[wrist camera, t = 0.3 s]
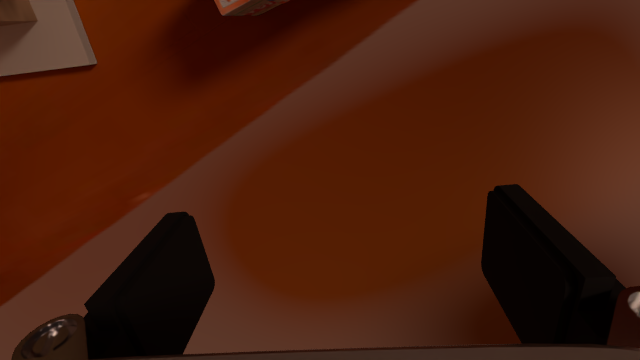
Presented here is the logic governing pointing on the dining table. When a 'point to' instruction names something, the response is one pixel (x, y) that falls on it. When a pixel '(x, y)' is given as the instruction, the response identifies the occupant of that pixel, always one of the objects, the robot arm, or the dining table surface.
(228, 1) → the stack of blocks
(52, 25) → the grey board
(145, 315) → the robot arm
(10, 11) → the base block
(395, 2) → the dining table surface
